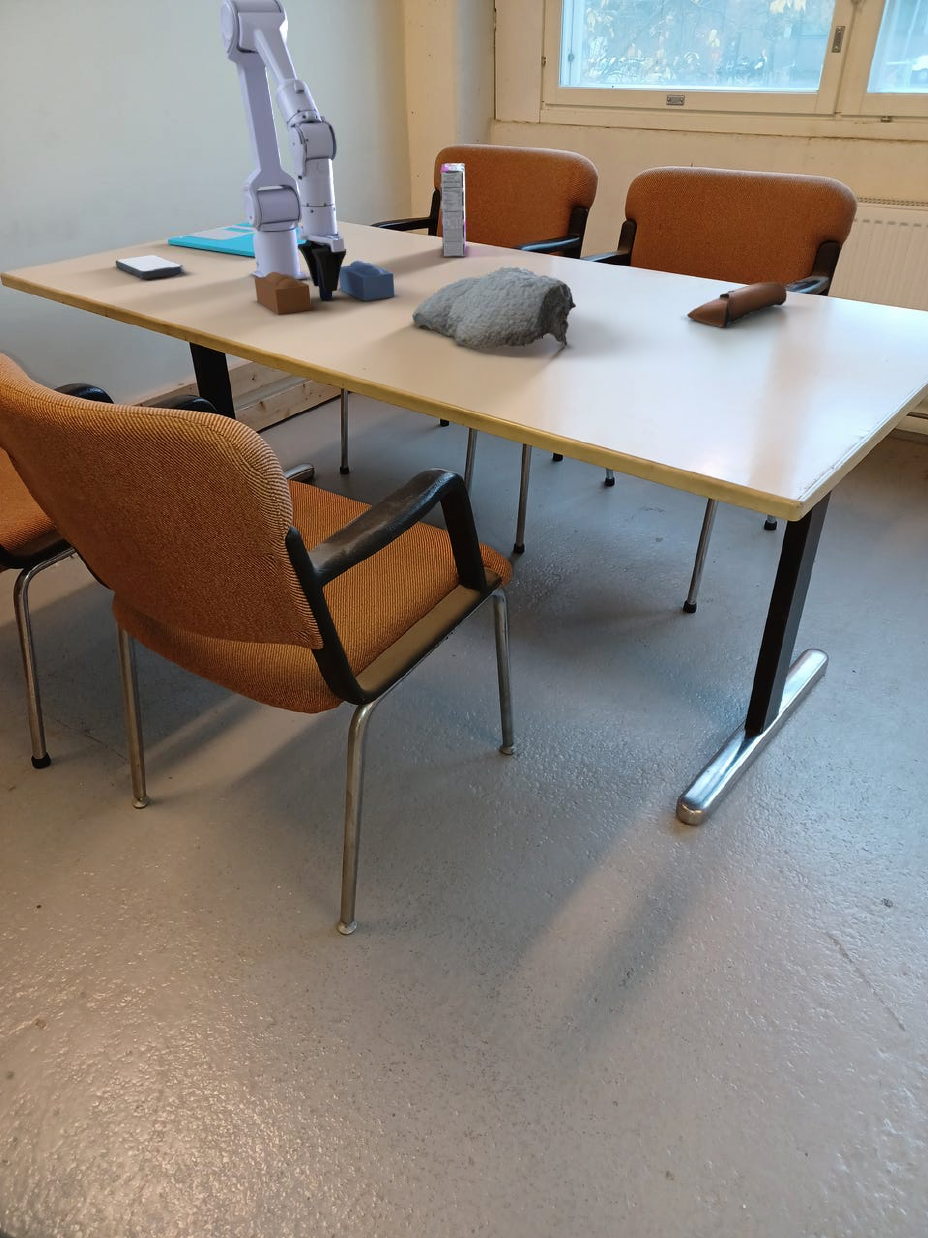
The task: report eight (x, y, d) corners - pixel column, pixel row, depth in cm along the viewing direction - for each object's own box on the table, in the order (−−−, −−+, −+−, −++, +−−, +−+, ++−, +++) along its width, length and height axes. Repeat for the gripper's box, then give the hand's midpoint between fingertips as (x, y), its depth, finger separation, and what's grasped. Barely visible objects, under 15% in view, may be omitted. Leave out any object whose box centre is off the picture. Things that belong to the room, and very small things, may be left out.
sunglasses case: (741, 295, 154) (764, 263, 149) (768, 323, 153) (793, 292, 147) (683, 315, 144) (706, 282, 138) (712, 345, 142) (737, 313, 137)
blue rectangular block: (340, 289, 162) (338, 260, 159) (369, 285, 165) (367, 256, 162) (364, 301, 155) (362, 271, 152) (394, 296, 158) (393, 267, 155)
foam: (398, 322, 144) (394, 263, 139) (501, 300, 154) (501, 244, 149) (504, 365, 125) (505, 298, 119) (614, 337, 135) (619, 275, 130)
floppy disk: (258, 257, 185) (257, 252, 184) (166, 243, 197) (166, 239, 197) (338, 236, 203) (338, 232, 202) (250, 225, 216) (249, 220, 215)
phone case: (114, 268, 179) (143, 280, 169) (112, 259, 178) (141, 271, 168) (156, 262, 184) (187, 274, 173) (155, 254, 183) (185, 265, 172)
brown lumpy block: (257, 301, 155) (253, 271, 153) (289, 297, 158) (286, 267, 155) (278, 314, 148) (274, 283, 145) (311, 309, 151) (308, 278, 148)
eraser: (321, 297, 157) (317, 257, 154) (334, 297, 157) (330, 257, 153) (318, 300, 156) (314, 259, 152) (331, 300, 155) (327, 260, 152)
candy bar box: (443, 246, 194) (441, 162, 185) (465, 246, 194) (465, 162, 185) (441, 257, 184) (439, 170, 175) (465, 257, 184) (464, 169, 175)
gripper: (279, 200, 151) (288, 282, 159) (313, 212, 141) (321, 300, 149) (317, 196, 154) (324, 277, 162) (353, 208, 144) (359, 294, 152)
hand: (325, 288), depth 155 cm, fingers open, 4 cm apart
